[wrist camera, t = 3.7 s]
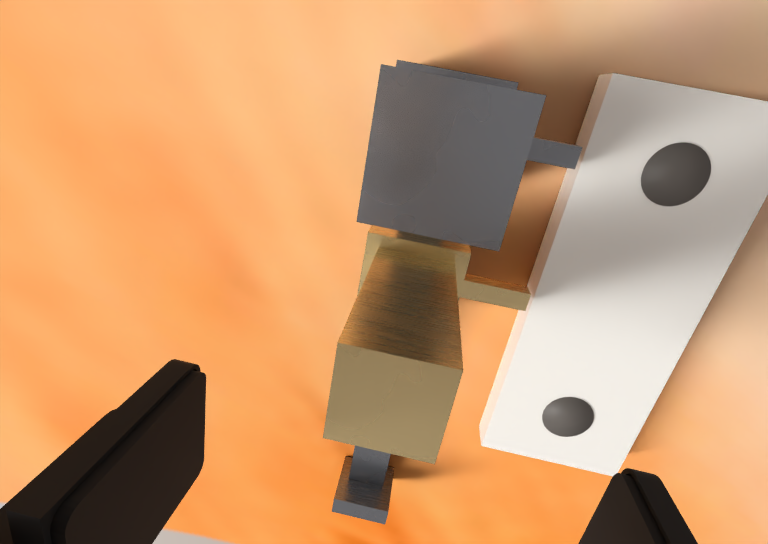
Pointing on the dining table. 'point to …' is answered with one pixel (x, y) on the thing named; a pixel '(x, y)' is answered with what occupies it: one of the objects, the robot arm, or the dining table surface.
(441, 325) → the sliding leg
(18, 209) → the dining table surface
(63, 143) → the dining table surface
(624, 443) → the hole plate
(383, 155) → the rail
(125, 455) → the robot arm
